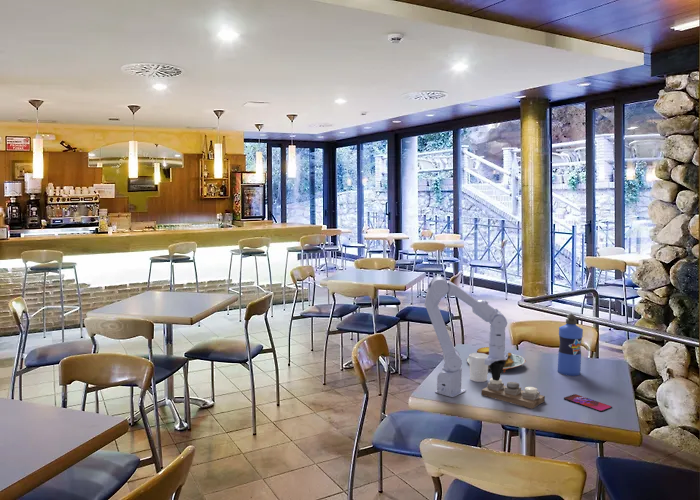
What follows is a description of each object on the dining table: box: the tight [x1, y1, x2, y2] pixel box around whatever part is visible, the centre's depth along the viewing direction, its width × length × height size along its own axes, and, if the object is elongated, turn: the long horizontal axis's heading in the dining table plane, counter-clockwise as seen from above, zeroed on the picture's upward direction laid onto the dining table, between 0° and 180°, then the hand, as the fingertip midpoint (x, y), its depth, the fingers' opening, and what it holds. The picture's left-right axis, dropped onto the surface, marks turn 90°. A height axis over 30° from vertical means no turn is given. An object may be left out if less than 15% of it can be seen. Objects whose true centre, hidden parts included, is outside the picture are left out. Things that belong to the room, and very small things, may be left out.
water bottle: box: [557, 313, 584, 377], centre depth 236 cm, size 9×9×25 cm
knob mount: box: [481, 381, 546, 409], centre depth 206 cm, size 10×20×5 cm, turn 47°
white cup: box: [468, 352, 489, 383], centre depth 226 cm, size 8×8×10 cm
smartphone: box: [563, 393, 613, 413], centre depth 201 cm, size 8×1×15 cm
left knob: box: [489, 377, 503, 385], centre depth 210 cm, size 4×4×3 cm
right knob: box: [524, 386, 539, 394], centre depth 201 cm, size 4×4×3 cm
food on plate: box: [466, 346, 526, 373], centre depth 247 cm, size 25×25×7 cm
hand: (495, 379), depth 210 cm, fingers closed, pressing on left knob
